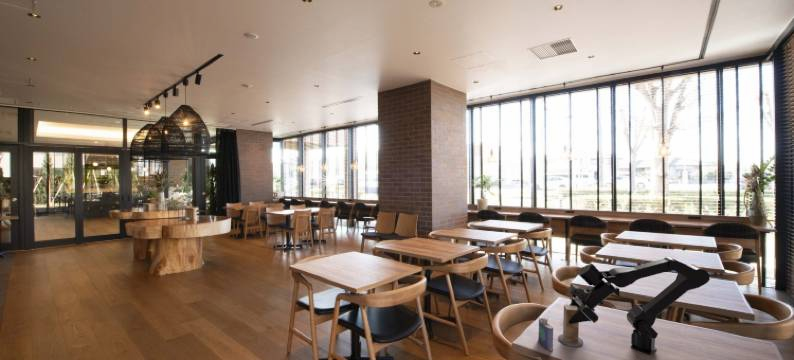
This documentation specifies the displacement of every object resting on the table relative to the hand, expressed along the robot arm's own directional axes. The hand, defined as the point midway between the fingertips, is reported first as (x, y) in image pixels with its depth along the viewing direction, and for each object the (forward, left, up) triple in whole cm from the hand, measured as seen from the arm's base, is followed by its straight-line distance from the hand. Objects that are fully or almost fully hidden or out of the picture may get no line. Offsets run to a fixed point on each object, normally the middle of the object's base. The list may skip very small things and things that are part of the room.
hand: (567, 318), depth 139 cm
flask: (+3, +10, -9) cm, 14 cm away
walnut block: (-1, -1, -8) cm, 8 cm away
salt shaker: (+11, -21, -9) cm, 25 cm away
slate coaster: (-1, -1, -9) cm, 9 cm away
